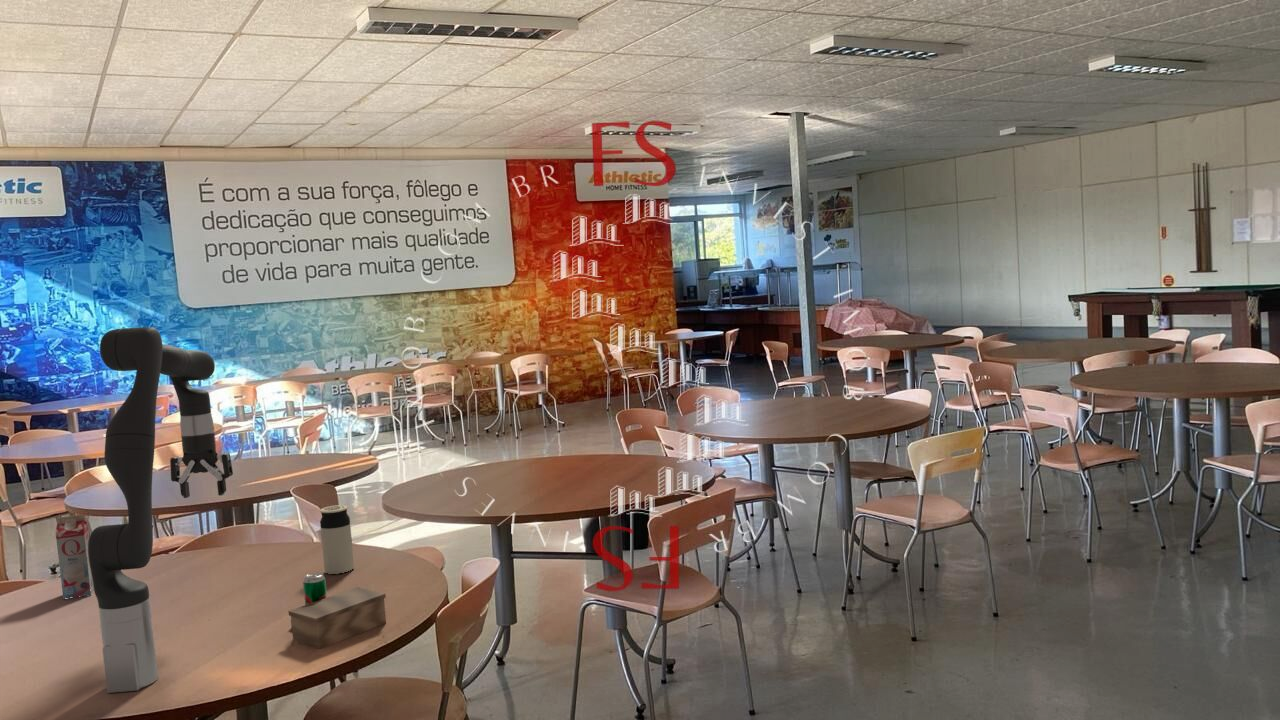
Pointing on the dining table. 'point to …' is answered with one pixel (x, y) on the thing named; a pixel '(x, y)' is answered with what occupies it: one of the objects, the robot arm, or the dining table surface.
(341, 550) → the travel mug
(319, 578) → the soda can
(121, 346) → the robot arm
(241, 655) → the dining table surface
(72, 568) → the juice carton
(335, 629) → the shoebox
